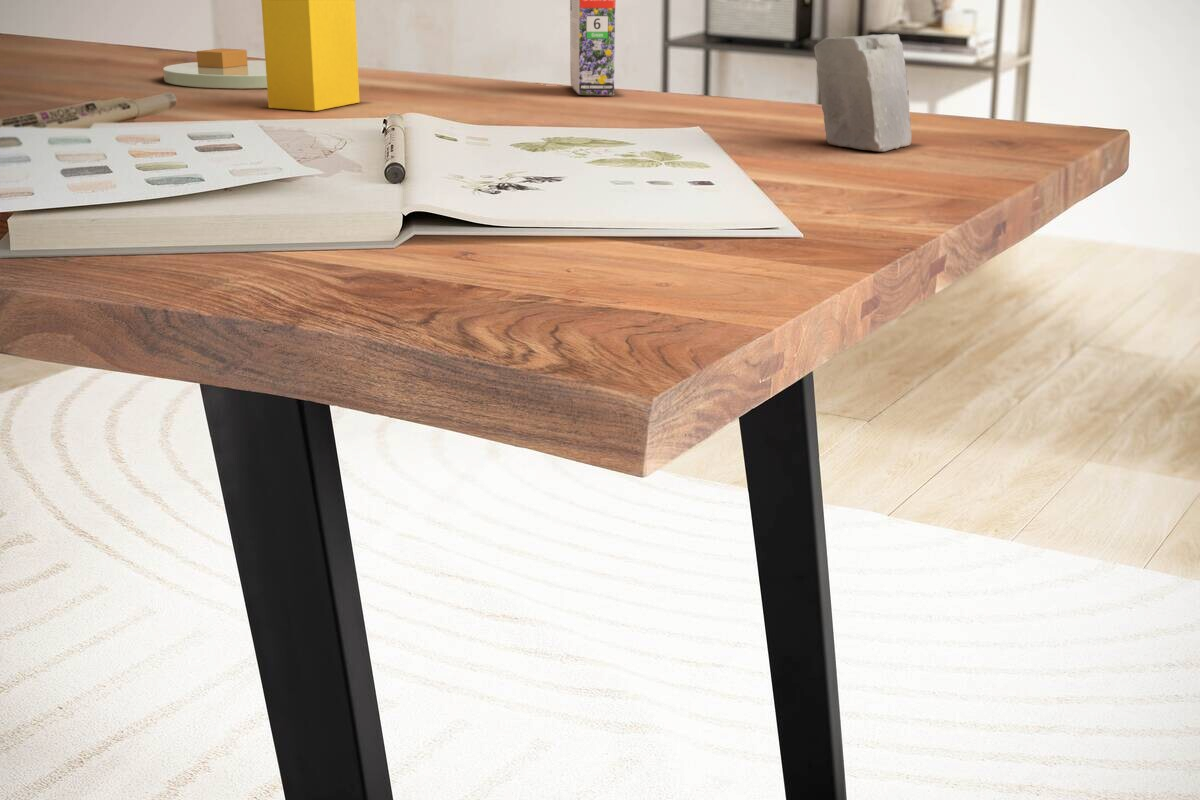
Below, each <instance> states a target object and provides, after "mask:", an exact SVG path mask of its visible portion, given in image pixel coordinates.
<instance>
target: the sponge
mask: <svg viewBox="0 0 1200 800" xmlns="http://www.w3.org/2000/svg"><path fill="white" fill-rule="evenodd" d="M356 11H357V10H356V0H261V14H262V29H263V45H264V46H263V47H264V61H265V62H266V76H267V88H266V90H267V91H266V92H267V105H268V108H269V109H274V110H275V109H278V110H291V111H304V112H317V111H319V112H320V111H324V110H328V109H334V108H339V107H345V106H349V105H355V104H359V103H360V85H359V84H360V83H359V82H360V80H359V60H358V59H359V58H358V39H357V38H358V36H357V34H358V33H357V14H356Z"/></svg>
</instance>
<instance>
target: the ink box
mask: <svg viewBox="0 0 1200 800" xmlns="http://www.w3.org/2000/svg"><path fill="white" fill-rule="evenodd" d="M569 34H570V35H569V48H570V49H569V51H570V52H569V59H570V60H569V70H570V71H569V72H570V73H569V74H570V77H569V78H570V86H571V88H572V89H573V91H575V92H576V94H578V95H579V96H615V52H616V51H615V50H616V49H615V46H616V45H615V44H616V43H615V42H616V0H569ZM572 86H574V87H572Z"/></svg>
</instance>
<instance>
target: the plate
mask: <svg viewBox="0 0 1200 800" xmlns="http://www.w3.org/2000/svg"><path fill="white" fill-rule="evenodd" d="M247 64H248V65H245V66H237V67H229V68H210V67H198V63H197V61H195V62H184V63H176V64H169V65H166V66H165V67H163V68H162V75H163V81H164V83H167V84H169V85H174V86H181V87H188V88H203V89H204V88H205V89H228V90H229V89H231V90H232V89H233V90H235V89H237V90H247V89H249V90H251V89H253V90H254V89H255V90H256V89H257V90H258V89H267V76H266V62H265V60H257V59H256V60H253V59H252V60H251V59H250V60H248V59H247Z"/></svg>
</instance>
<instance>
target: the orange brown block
mask: <svg viewBox="0 0 1200 800" xmlns="http://www.w3.org/2000/svg"><path fill="white" fill-rule="evenodd" d="M247 60H248V52H247V49H243V48H242V49H241V48H239V49H238V48H221V47H220V48H211V49H203V50H196V62H197V63H198V67H210V68H229V67H237V66H245V65H248V64H247Z"/></svg>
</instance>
